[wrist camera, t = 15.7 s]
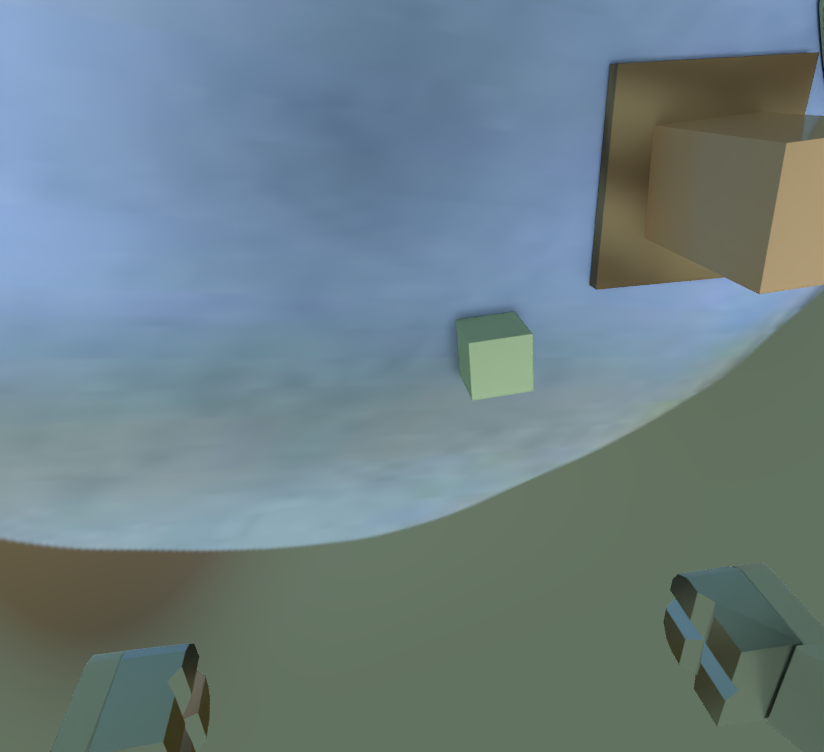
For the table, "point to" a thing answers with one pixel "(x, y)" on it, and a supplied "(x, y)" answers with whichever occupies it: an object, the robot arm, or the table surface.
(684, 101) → the board
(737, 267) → the tall tan cardboard box
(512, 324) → the green block
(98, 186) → the table surface
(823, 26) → the skincare box
